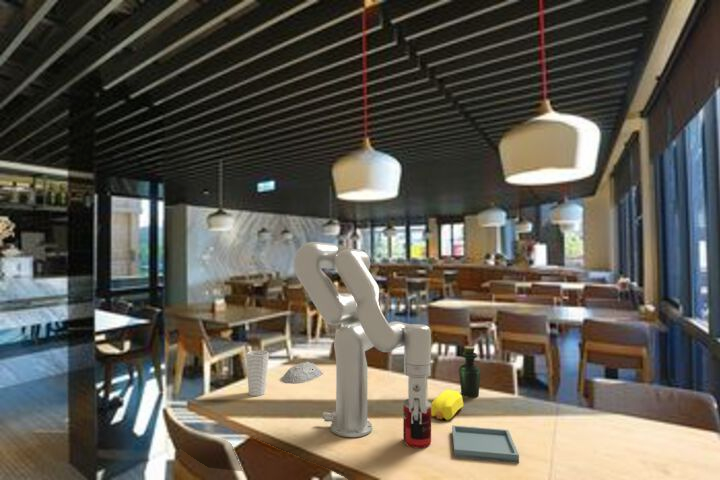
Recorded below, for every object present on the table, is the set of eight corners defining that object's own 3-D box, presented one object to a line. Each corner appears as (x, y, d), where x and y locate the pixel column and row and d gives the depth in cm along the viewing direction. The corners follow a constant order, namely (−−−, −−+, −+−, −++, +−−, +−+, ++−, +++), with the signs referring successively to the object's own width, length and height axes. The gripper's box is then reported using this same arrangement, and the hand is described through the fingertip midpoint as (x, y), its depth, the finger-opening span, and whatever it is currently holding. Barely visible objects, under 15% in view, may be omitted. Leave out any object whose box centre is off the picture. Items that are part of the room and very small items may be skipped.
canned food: (412, 434, 122) (412, 396, 122) (436, 441, 117) (436, 402, 117) (397, 442, 116) (398, 402, 117) (422, 451, 111) (422, 409, 111)
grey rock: (330, 370, 191) (328, 355, 191) (304, 388, 168) (302, 372, 168) (300, 370, 196) (299, 356, 197) (271, 388, 173) (270, 372, 173)
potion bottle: (477, 391, 162) (477, 345, 163) (483, 398, 154) (483, 349, 155) (456, 391, 162) (456, 345, 163) (461, 398, 154) (461, 349, 155)
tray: (454, 457, 108) (454, 449, 108) (452, 432, 123) (452, 425, 124) (519, 463, 105) (518, 455, 105) (508, 436, 120) (508, 429, 121)
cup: (265, 397, 153) (266, 355, 154) (242, 397, 153) (243, 355, 154) (270, 390, 161) (271, 350, 162) (249, 390, 161) (250, 350, 162)
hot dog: (466, 407, 145) (444, 403, 149) (466, 388, 145) (444, 384, 149) (449, 424, 130) (426, 419, 134) (449, 403, 130) (426, 398, 134)
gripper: (430, 378, 108) (430, 446, 107) (431, 362, 125) (431, 421, 124) (401, 376, 110) (401, 443, 109) (406, 360, 127) (406, 419, 126)
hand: (417, 431), depth 117 cm, fingers closed on canned food, 8 cm apart
